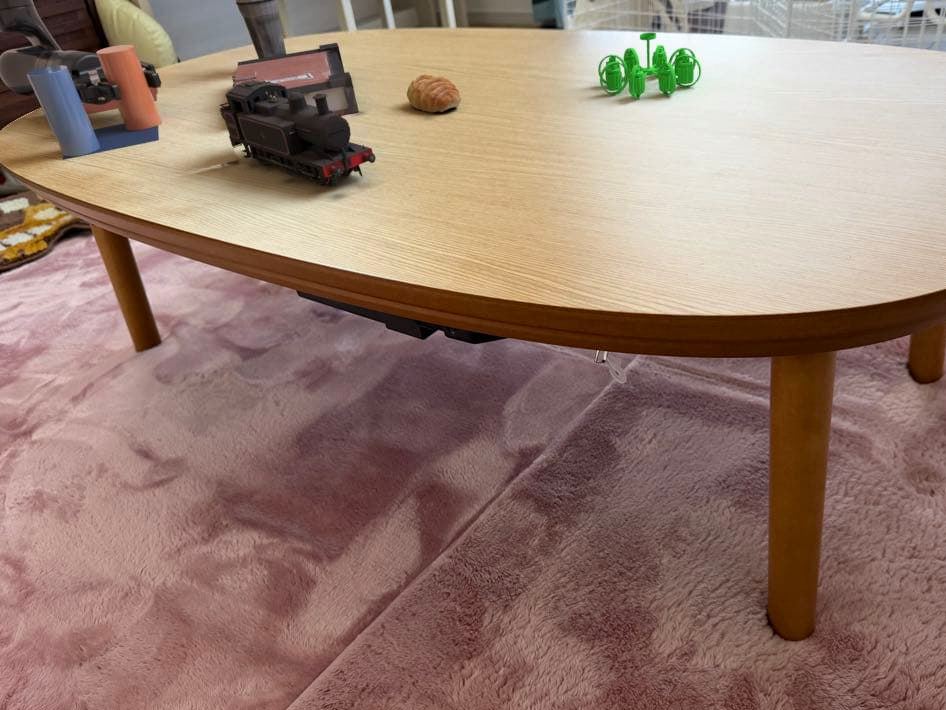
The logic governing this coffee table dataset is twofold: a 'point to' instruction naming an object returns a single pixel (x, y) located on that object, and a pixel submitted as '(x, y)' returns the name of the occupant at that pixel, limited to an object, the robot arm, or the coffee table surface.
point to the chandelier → (649, 70)
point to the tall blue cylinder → (64, 110)
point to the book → (305, 76)
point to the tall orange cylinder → (130, 87)
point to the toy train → (292, 132)
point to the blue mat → (122, 137)
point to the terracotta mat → (111, 104)
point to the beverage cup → (263, 26)
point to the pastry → (433, 93)
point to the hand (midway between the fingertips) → (137, 86)
